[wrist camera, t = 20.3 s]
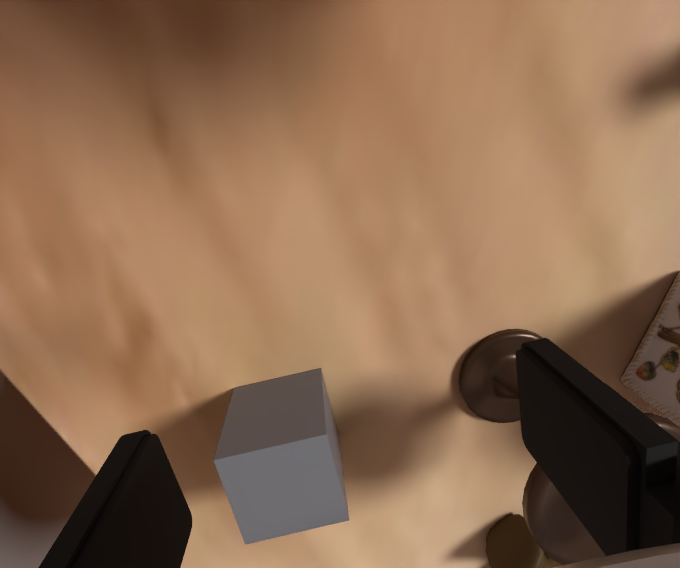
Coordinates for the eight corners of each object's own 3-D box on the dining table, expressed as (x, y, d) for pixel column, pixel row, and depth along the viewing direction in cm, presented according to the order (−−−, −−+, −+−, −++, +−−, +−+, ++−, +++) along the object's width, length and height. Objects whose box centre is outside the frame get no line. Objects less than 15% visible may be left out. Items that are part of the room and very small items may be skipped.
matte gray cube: (321, 368, 36) (326, 434, 28) (339, 439, 39) (349, 520, 30) (233, 388, 36) (213, 460, 28) (257, 458, 39) (245, 544, 30)
